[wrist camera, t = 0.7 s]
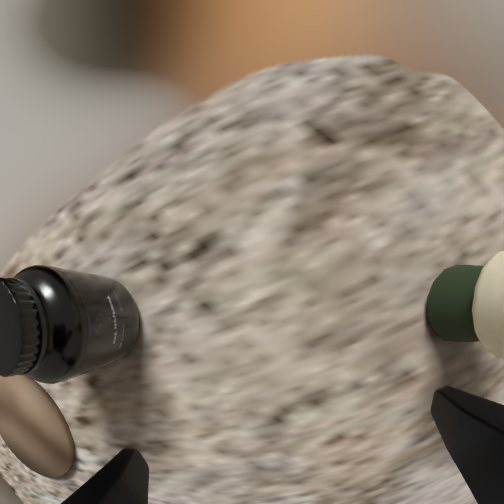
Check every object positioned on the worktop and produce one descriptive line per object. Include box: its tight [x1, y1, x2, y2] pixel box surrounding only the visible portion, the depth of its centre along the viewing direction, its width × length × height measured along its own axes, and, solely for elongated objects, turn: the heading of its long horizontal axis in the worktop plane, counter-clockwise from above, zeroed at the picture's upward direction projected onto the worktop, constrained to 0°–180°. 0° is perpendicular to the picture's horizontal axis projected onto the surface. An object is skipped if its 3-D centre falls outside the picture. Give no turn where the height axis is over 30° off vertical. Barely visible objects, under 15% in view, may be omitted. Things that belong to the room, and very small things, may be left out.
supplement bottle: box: [0, 265, 139, 384], centre depth 15 cm, size 7×7×12 cm
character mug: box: [427, 251, 504, 359], centre depth 14 cm, size 11×7×13 cm, turn 0°
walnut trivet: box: [0, 374, 75, 478], centre depth 19 cm, size 12×12×1 cm
